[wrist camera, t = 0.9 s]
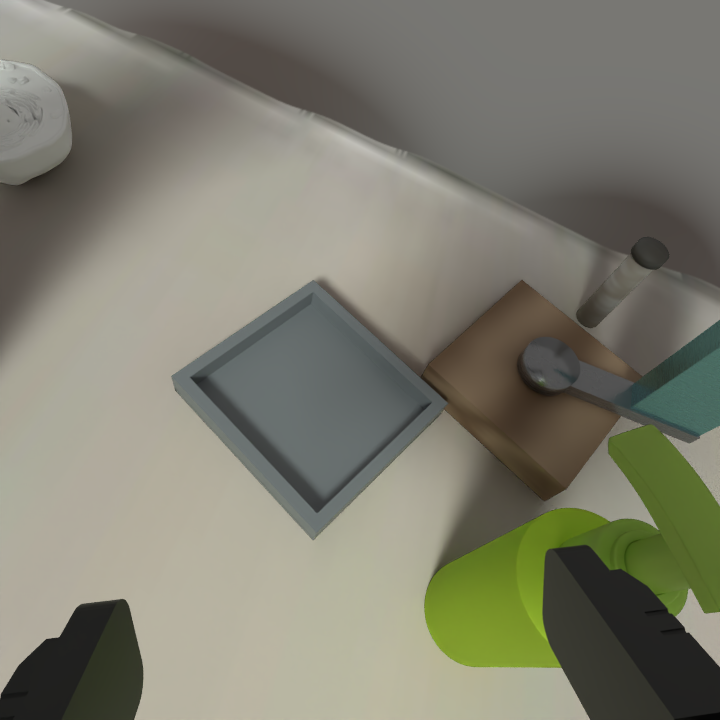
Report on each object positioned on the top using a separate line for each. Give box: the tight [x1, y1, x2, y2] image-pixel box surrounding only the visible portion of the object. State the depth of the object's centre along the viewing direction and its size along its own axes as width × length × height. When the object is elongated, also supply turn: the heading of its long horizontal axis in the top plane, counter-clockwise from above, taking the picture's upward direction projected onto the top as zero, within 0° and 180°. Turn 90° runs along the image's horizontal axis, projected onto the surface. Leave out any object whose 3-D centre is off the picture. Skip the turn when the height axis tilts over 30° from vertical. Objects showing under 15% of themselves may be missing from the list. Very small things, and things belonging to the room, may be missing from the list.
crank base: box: [421, 237, 669, 501], centre depth 38 cm, size 12×18×9 cm
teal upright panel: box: [517, 320, 720, 443], centre depth 32 cm, size 13×4×13 cm, turn 70°
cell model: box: [0, 60, 72, 185], centre depth 41 cm, size 10×12×7 cm
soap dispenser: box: [424, 424, 720, 668], centre depth 24 cm, size 6×7×20 cm
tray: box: [171, 280, 448, 540], centre depth 36 cm, size 14×13×2 cm
